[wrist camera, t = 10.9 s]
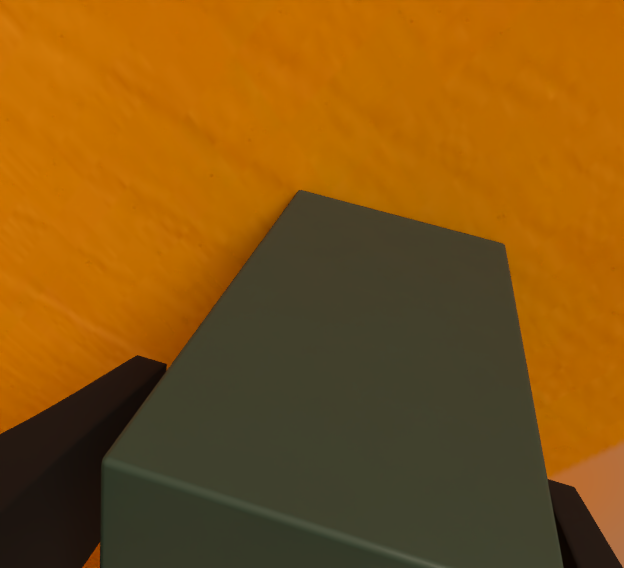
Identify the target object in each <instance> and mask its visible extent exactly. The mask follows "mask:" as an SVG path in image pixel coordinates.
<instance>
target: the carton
mask: <svg viewBox="0 0 624 568" xmlns="http://www.w3.org/2000/svg"><path fill="white" fill-rule="evenodd" d="M100 568H564V567H563V562H562V556H561V551H560V545H559V540H558V534H557V529H556V523H555V518H554V512H553V507H552V501H551V496H550V490H549V485H548V480H547V474H546V469H545V463H544V458H543V452H542V447H541V441H540V436H539V430H538V425H537V419H536V414H535V408H534V403H533V397H532V392H531V386H530V381H529V375H528V370H527V364H526V359H525V353H524V348H523V342H522V337H521V331H520V326H519V320H518V315H517V309H516V304H515V298H514V293H513V287H512V282H511V276H510V271H509V265H508V260H507V254H506V249H505V245H504V244H503V243H499V242H495V241H491V240H487V239H484V238H480V237H476V236H472V235H469V234H465V233H461V232H457V231H453V230H450V229H446V228H442V227H438V226H435V225H431V224H427V223H423V222H419V221H416V220H412V219H408V218H404V217H401V216H397V215H393V214H389V213H385V212H382V211H378V210H374V209H370V208H367V207H363V206H359V205H355V204H351V203H348V202H344V201H340V200H336V199H333V198H329V197H325V196H321V195H317V194H314V193H310V192H306V191H302V190H299V191H298V192H297V193H296V195H295V196H294V197H293V199H292V200H291V202H290V203H289V204H288V206H287V207H286V208H285V210H284V211H283V212H282V214H281V215H280V217H279V218H278V219H277V221H276V222H275V223H274V225H273V226H272V228H271V229H270V230H269V232H268V233H267V234H266V236H265V237H264V238H263V240H262V241H261V243H260V244H259V245H258V247H257V248H256V249H255V251H254V252H253V253H252V255H251V256H250V258H249V259H248V260H247V262H246V263H245V264H244V266H243V267H242V269H241V270H240V271H239V273H238V274H237V275H236V277H235V278H234V279H233V281H232V282H231V284H230V285H229V286H228V288H227V289H226V290H225V292H224V293H223V294H222V296H221V297H220V299H219V300H218V301H217V303H216V304H215V305H214V307H213V308H212V310H211V311H210V312H209V314H208V315H207V316H206V318H205V319H204V320H203V322H202V323H201V325H200V326H199V327H198V329H197V330H196V331H195V333H194V334H193V335H192V337H191V338H190V340H189V341H188V342H187V344H186V345H185V346H184V348H183V349H182V351H181V352H180V353H179V355H178V356H177V357H176V359H175V360H174V361H173V363H172V364H171V366H170V367H169V368H168V370H167V371H166V372H165V374H164V375H163V377H162V378H161V379H160V381H159V382H158V383H157V385H156V386H155V387H154V389H153V390H152V392H151V393H150V394H149V396H148V397H147V398H146V400H145V401H144V402H143V404H142V405H141V407H140V408H139V409H138V411H137V412H136V413H135V415H134V416H133V418H132V419H131V420H130V422H129V423H128V424H127V426H126V427H125V428H124V430H123V431H122V433H121V434H120V435H119V437H118V438H117V439H116V441H115V442H114V443H113V445H112V446H111V448H110V449H109V450H108V452H107V453H106V454H105V456H104V457H103V459H102V463H101V528H100Z"/></svg>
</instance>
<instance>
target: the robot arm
mask: <svg viewBox="0 0 624 568" xmlns="http://www.w3.org/2000/svg"><path fill="white" fill-rule="evenodd" d="M166 368H167V364H165V363H161V362H158V361H155V360H151V359H148V358H145V357H141V356H138V355H137V356H135V357H133V358H132V359H130V360H128V361H126V362H125V363H123V364H121V365H120V366H118V367H117V368H115V369H113V370H112V371H110V372H108V373H107V374H105V375H103V376H102V377H100V378H99V379H97V380H95V381H94V382H92V383H90V384H89V385H87V386H85V387H84V388H82V389H80V390H79V391H77V392H76V393H74V394H72V395H70V396H69V397H67V398H65V399H63V400H62V401H60V402H58V403H57V404H55V405H53V406H51V407H50V408H48V409H46V410H44V411H43V412H41V413H39V414H37V415H36V416H34V417H32V418H30V419H28V420H26V421H25V422H23V423H21V424H19V425H17V426H15V427H13V428H11V429H9V430H7V431H5V432H3V433H2V434H0V568H82V567H83V566H84V564H85V563H86V561H87V560H88V558H89V557H90V556H91V554H92V553H93V551H94V550H95V548H96V547H97V545H98V544H99V542H100V528H101V463H102V459H103V457H104V456H105V454H106V453H107V452H108V450H109V449H110V448H111V446H112V445H113V443H114V442H115V441H116V439H117V438H118V437H119V435H120V434H121V433H122V431H123V430H124V428H125V427H126V426H127V424H128V423H129V422H130V420H131V419H132V418H133V416H134V415H135V413H136V412H137V411H138V409H139V408H140V407H141V405H142V404H143V402H144V401H145V400H146V398H147V397H148V396H149V394H150V393H151V392H152V390H153V389H154V387H155V386H156V385H157V383H158V382H159V381H160V379H161V378H162V377H163V375H164V374H165V372H166ZM547 480H548V485H549V490H550V496H551V501H552V507H553V512H554V518H555V523H556V529H557V534H558V540H559V545H560V551H561V556H562V562H563V567H564V568H623V567H622V565H621V564H620V562H619V561H618V559H617V557H616V556H615V554H614V552H613V551H612V549H611V547H610V546H609V544H608V542H607V541H606V539H605V537H604V536H603V534H602V532H601V531H600V529H599V527H598V526H597V524H596V522H595V521H594V519H593V517H592V516H591V514H590V512H589V511H588V509H587V507H586V505H585V504H584V502H583V501H582V499H581V497H580V496H579V494H578V492H577V491H576V489H575V488H574V487H572V486H569V485H565V484H562V483H559V482H556V481H552V480H549V479H547Z"/></svg>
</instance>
